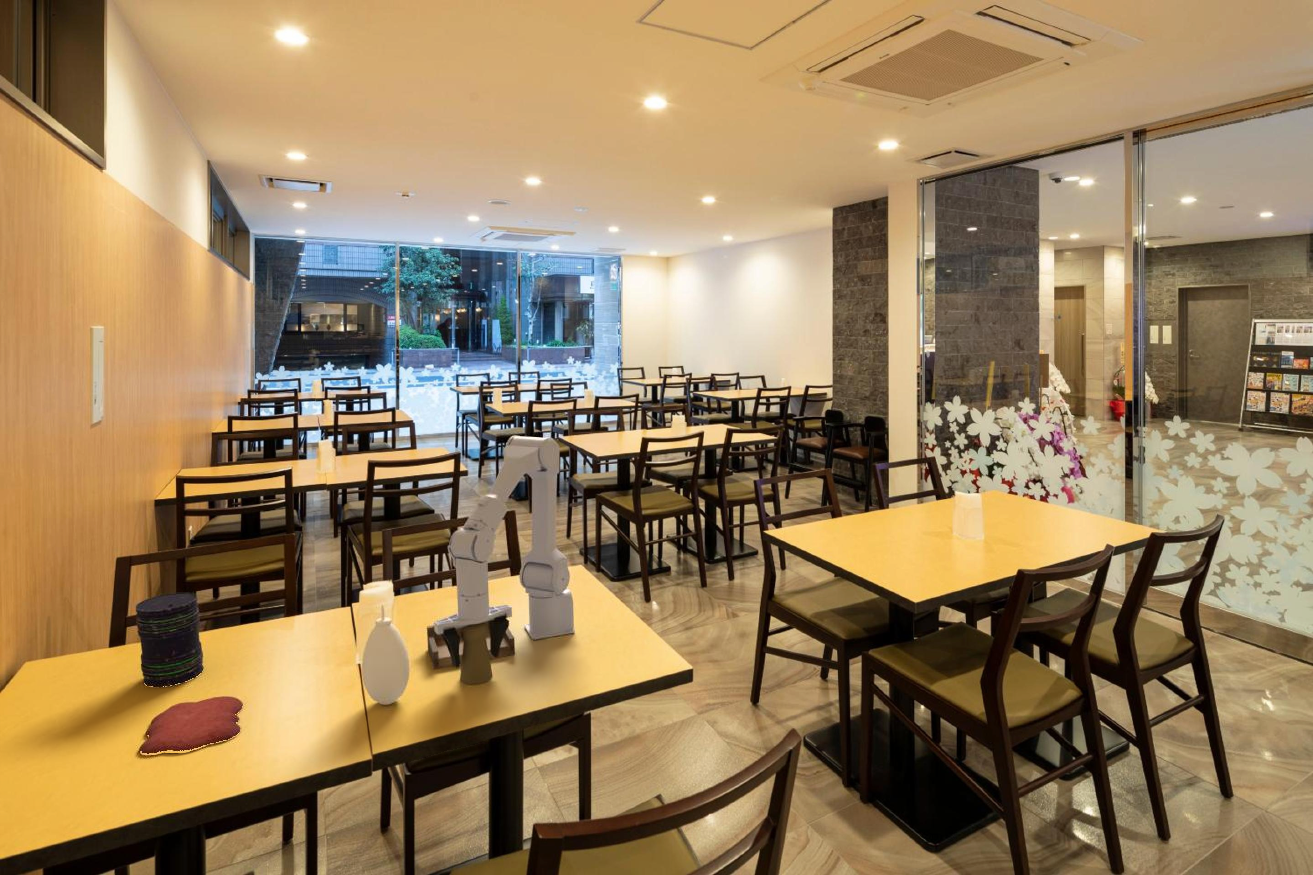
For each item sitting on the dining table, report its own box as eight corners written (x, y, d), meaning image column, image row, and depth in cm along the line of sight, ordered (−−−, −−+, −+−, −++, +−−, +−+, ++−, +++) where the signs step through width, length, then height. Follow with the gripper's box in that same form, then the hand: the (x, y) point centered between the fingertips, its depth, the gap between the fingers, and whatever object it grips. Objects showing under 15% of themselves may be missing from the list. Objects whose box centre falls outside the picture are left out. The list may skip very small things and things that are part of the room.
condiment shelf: (504, 636, 154) (503, 614, 153) (514, 654, 145) (514, 630, 144) (428, 649, 148) (426, 626, 147) (433, 669, 139) (432, 644, 138)
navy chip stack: (137, 676, 136) (129, 601, 134) (196, 659, 143) (189, 588, 141) (149, 693, 129) (141, 615, 127) (211, 675, 137) (204, 600, 135)
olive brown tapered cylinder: (496, 670, 138) (494, 616, 136) (486, 685, 132) (484, 629, 130) (466, 669, 138) (464, 615, 137) (455, 684, 132) (452, 628, 131)
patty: (239, 743, 114) (238, 732, 114) (133, 767, 108) (132, 755, 107) (246, 695, 129) (245, 685, 129) (154, 714, 123) (153, 703, 123)
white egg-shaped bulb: (366, 717, 121) (360, 616, 118) (362, 697, 128) (356, 601, 125) (414, 706, 124) (409, 608, 122) (407, 687, 131) (402, 594, 129)
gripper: (500, 578, 140) (502, 643, 142) (427, 593, 132) (430, 662, 134) (515, 588, 135) (517, 656, 136) (440, 604, 126) (443, 676, 128)
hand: (475, 660), depth 135 cm, fingers open, 7 cm apart
